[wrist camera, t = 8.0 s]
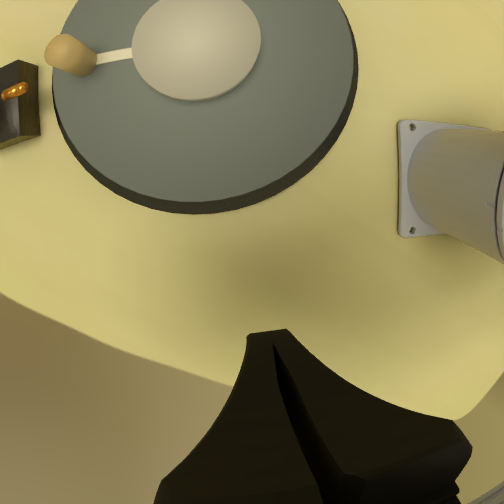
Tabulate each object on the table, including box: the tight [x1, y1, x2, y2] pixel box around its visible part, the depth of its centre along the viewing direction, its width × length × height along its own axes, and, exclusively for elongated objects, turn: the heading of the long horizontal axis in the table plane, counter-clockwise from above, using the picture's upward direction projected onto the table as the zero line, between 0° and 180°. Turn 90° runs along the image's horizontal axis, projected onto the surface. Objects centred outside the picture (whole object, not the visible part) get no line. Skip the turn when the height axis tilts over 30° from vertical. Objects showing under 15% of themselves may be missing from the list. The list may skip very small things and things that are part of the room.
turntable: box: [45, 0, 353, 202], centre depth 13 cm, size 16×16×4 cm
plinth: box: [52, 0, 358, 214], centre depth 16 cm, size 18×18×2 cm
